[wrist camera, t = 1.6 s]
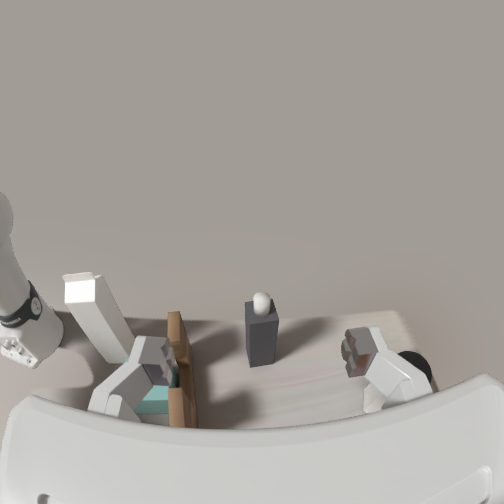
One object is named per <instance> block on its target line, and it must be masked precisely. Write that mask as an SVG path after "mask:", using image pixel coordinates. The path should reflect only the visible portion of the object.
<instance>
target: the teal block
mask: <svg viewBox="0 0 504 504" xmlns="http://www.w3.org/2000/svg"><path fill="white" fill-rule="evenodd" d="M128 361H129V359H125V361H124V363H125V362H128ZM171 372H172V380H171V386H157V385H153V386H154V387H153V388H152V389H151V390H150V391H149V392H148V394H147V395H146V396H145V397H144V398H143V400H142V401H141V402H140V403H139V404H138V405H137V407H136V408H135V409H134V410H133V411H134V412H135V413H137V414H169V406H168V388H178V380H177V373H176V371H175V369H174V367H173V368H172V369H171Z"/></svg>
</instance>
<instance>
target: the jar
mask: <svg viewBox="0 0 504 504" xmlns="http://www.w3.org/2000/svg"><path fill="white" fill-rule="evenodd" d="M398 355H399V356H401V357H402V358H403V359H405V360H406V361H408V362H409V363H410V364H412V365H413V366H415V367H416V368H417V369H419V370H420V371H422V372H423V373H424V374H425V375H426V377H427V379H428V382H429V384H430V383H431V378H432V373H431V368H430V366H429V364H428V362H427V361H426V359H425V358H424V357H422V356H421V355H420V354H418V353H415V352H412V351H404V352H400V353H398ZM387 399H388V398H387V397H386V396H385V395H384V394H383V393H382V392H381V391H380V390H379V389H378V388H377V387H376V386H374V385H373V384H372V383H371V382H370V383H369V385H368V386H367V387H366V388H365V389H364V407H363V411H364V412H365V413H367V414H368V413H372V412H376V411H380V410H382V409H381V407H382V405H383V404H384V403H385V402H386V400H387Z"/></svg>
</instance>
